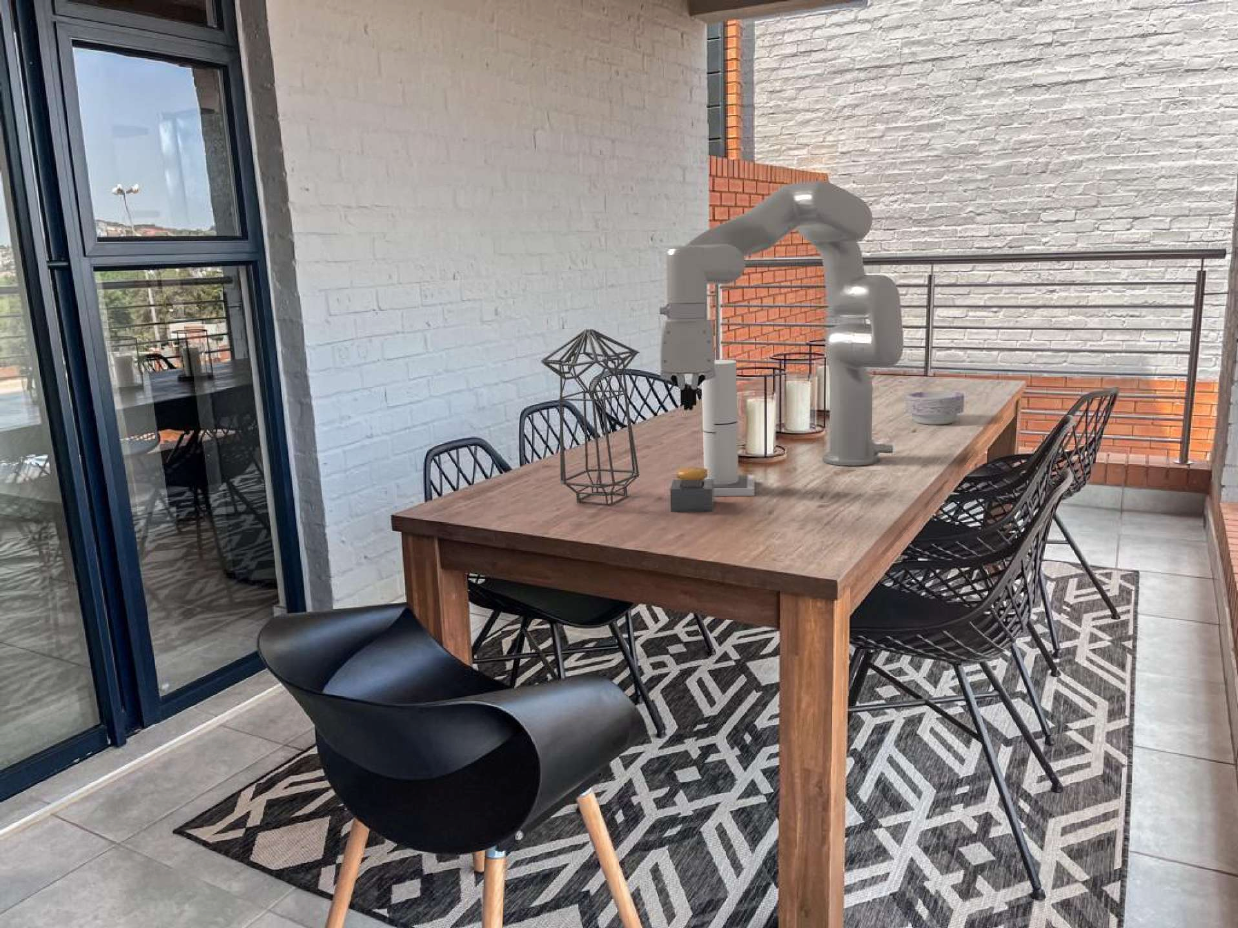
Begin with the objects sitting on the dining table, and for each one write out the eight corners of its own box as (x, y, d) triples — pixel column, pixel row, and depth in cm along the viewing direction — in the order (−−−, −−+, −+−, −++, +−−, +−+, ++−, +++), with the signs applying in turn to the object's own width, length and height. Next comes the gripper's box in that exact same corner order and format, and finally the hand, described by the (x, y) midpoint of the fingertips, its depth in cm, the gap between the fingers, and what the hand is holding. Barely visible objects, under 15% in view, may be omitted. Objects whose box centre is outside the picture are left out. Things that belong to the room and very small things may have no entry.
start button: (708, 492, 192) (708, 467, 191) (707, 500, 186) (706, 474, 185) (678, 492, 193) (677, 467, 192) (676, 500, 187) (675, 474, 186)
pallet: (754, 481, 208) (754, 474, 207) (754, 495, 196) (754, 487, 196) (689, 482, 210) (689, 474, 209) (685, 496, 198) (685, 488, 198)
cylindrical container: (736, 484, 198) (734, 363, 193) (702, 484, 200) (699, 364, 195) (739, 476, 205) (737, 359, 200) (706, 476, 207) (703, 360, 201)
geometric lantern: (613, 512, 188) (600, 332, 180) (548, 506, 196) (532, 334, 189) (653, 493, 201) (642, 324, 193) (590, 487, 209) (578, 326, 202)
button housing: (714, 500, 193) (713, 479, 192) (712, 511, 186) (711, 488, 185) (674, 501, 194) (673, 479, 193) (670, 511, 187) (670, 489, 186)
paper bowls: (907, 417, 276) (908, 389, 274) (964, 418, 270) (965, 390, 269) (902, 426, 262) (903, 397, 260) (962, 428, 257) (963, 398, 255)
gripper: (645, 315, 179) (647, 412, 183) (726, 313, 177) (727, 412, 181) (650, 312, 186) (652, 406, 190) (727, 311, 184) (728, 406, 188)
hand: (688, 409), depth 185 cm, fingers closed
